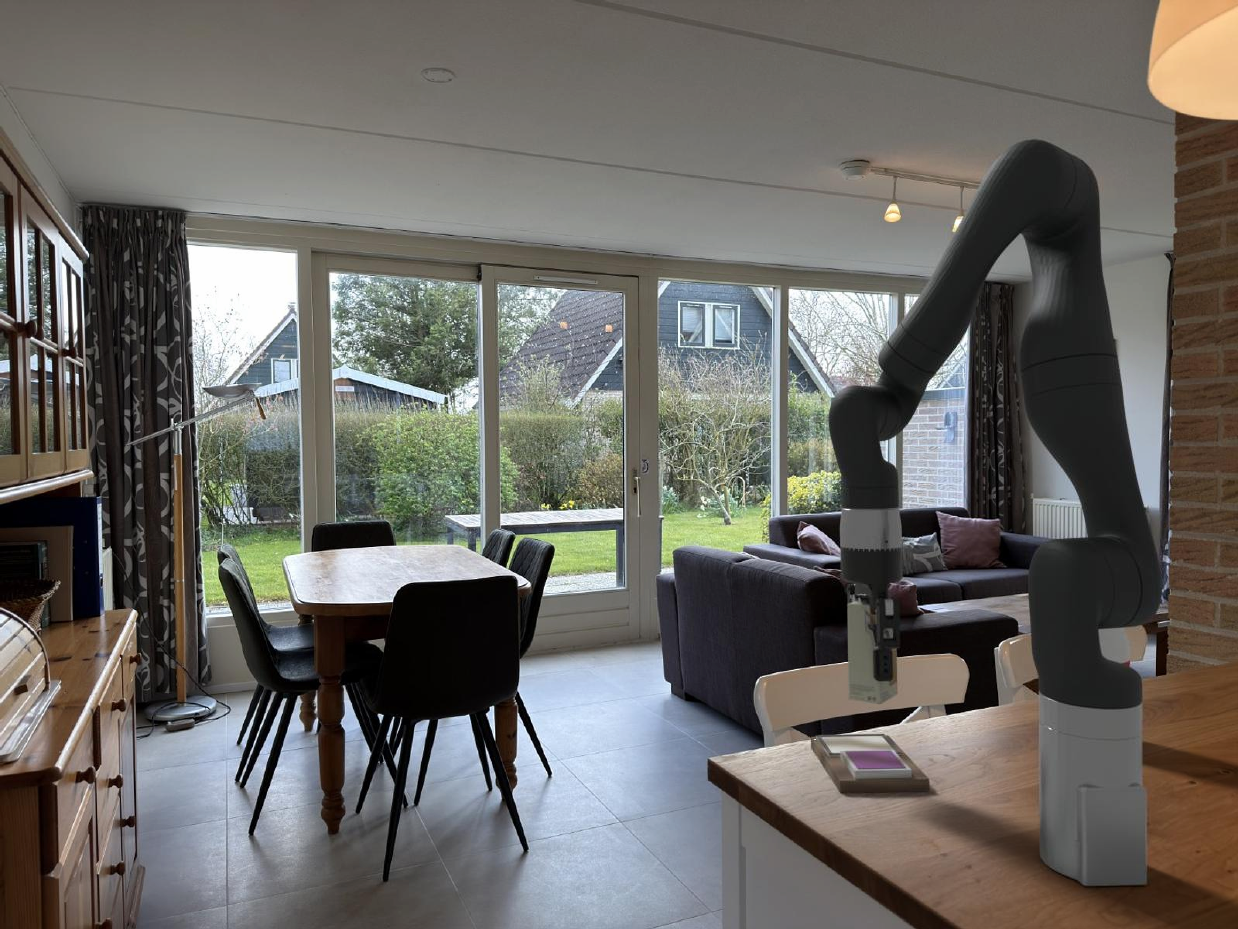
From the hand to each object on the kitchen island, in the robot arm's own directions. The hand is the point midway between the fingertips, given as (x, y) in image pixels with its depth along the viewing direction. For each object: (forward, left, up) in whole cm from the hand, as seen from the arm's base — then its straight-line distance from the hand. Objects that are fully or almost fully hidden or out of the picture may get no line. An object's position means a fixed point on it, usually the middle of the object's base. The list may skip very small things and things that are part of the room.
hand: (873, 672), depth 111 cm
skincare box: (0, 0, -3) cm, 3 cm away
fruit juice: (+13, -35, -14) cm, 40 cm away
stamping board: (+4, 0, -14) cm, 15 cm away
